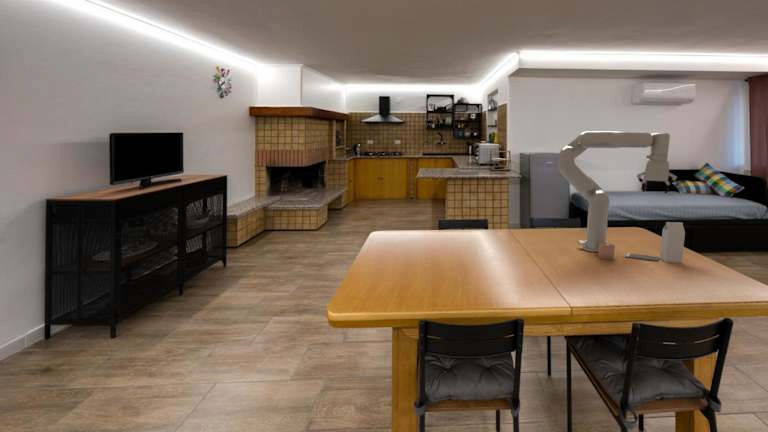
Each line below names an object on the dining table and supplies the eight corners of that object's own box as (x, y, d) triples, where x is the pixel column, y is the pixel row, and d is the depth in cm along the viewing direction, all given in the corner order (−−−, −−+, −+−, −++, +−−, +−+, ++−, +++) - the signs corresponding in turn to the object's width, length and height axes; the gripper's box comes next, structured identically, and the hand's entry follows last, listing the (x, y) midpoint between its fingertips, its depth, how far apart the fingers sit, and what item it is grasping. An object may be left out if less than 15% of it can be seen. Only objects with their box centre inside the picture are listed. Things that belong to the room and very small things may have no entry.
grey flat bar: (625, 257, 225) (625, 256, 225) (627, 254, 231) (627, 252, 231) (657, 261, 216) (657, 260, 216) (659, 258, 223) (659, 256, 223)
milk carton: (682, 263, 213) (686, 223, 210) (665, 262, 215) (669, 223, 212) (675, 259, 220) (679, 221, 217) (659, 258, 222) (663, 220, 219)
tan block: (596, 258, 223) (597, 244, 222) (599, 255, 228) (600, 242, 227) (612, 260, 219) (613, 246, 218) (615, 257, 224) (616, 244, 223)
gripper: (637, 157, 225) (634, 191, 228) (678, 158, 215) (674, 194, 218) (639, 157, 231) (636, 190, 234) (679, 158, 221) (675, 192, 224)
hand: (654, 192), depth 226 cm, fingers open, 9 cm apart
